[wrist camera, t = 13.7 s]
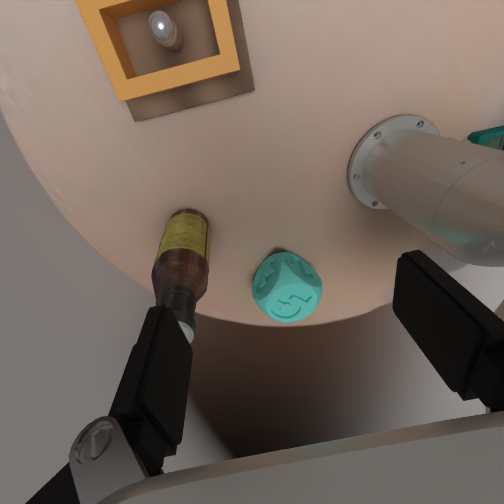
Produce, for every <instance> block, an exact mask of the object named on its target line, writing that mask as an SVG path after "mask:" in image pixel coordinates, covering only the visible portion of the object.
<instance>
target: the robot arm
mask: <svg viewBox="0 0 504 504" xmlns="http://www.w3.org/2000/svg"><path fill="white" fill-rule="evenodd" d="M375 133H376V134H375ZM374 134H375V136H374ZM354 175H355V176H354ZM348 182H349V187H350V189H351V191H352V193H353V195H354V196H355V197H356V199H357V200H359V201H360V202H361V203H362V204H364V205H365V206H367V207H370V208H372V209H379V210H383V209H390V210H391V211H392V212H394V213H395V214H396V215H398V216H399V217H401V218H402V219H403V220H405V221H406V222H407V223H409V224H410V225H411V226H413V227H414V228H415V229H417V230H418V231H419V232H421V233H422V234H423V235H425V236H426V237H427V238H429V239H430V240H431V241H433V242H434V243H436V244H437V245H438V246H440V247H441V248H442V249H444V250H445V251H446V252H448V253H449V254H450V255H452V256H454V257H455V258H457V259H459V260H461V261H463V262H466V263H470V264H473V265H478V266H489V267H503V266H504V150H499V149H495V148H491V147H486V146H482V145H478V144H474V143H471V142H470V140H463V141H461V140H456V139H452V138H448V137H444V136H440V134H439V131H438V129H437V128H436V127H435V125H434V124H433V123H432V122H430V121H429V120H428V119H426V118H423V117H420V116H417V115H398V116H394V117H391V118H389V119H386V120H384V121H382V122H381V123H379V124H378V125H376V126H375V127H373V128H372V129H371V130H370V131H369V132H368V133H367V134H366V135H365V136H364V137H363V138H362V140H361V141H360V142H359V143H358V145H357V147H356V149H355V150H354V152H353V155H352V157H351V160H350V163H349V168H348ZM393 311H394V313H395V315H396V316H397V318H398V319H399V320H400V322H401V323H402V324H403V326H404V327H405V328H406V330H407V331H408V333H409V334H410V335H411V337H412V338H413V339H414V341H415V342H416V343H417V345H418V346H419V348H420V349H421V350H422V352H423V353H424V354H425V356H426V357H427V359H428V360H429V361H430V363H431V364H432V365H433V367H434V368H435V369H436V371H437V372H438V373H439V375H440V376H441V377H442V379H443V380H444V382H445V383H446V385H447V386H448V387H449V388H450V389H451V390H452V391H453V392H457V393H458V394H459V396H460V397H461V398H462V400H463V401H466V400H471V399H476V398H479V399H480V400H481V402H482V403H483V404H484V405H485V406H486V413H485V414H481V415H475V416H469V417H462V418H456V419H450V420H444V421H439V422H433V423H428V424H422V425H417V426H412V427H406V428H400V429H394V430H389V431H383V432H378V433H372V434H367V435H361V436H356V437H350V438H345V439H339V440H334V441H329V442H324V443H318V444H312V445H307V446H302V447H296V448H291V449H286V450H280V451H275V452H270V453H265V454H260V455H254V456H249V457H243V458H239V459H233V460H228V461H222V462H218V463H212V464H207V465H203V466H198V467H193V468H188V469H183V470H179V471H174V472H169V473H164V471H163V470H162V468H161V467H162V466H163V461H164V457H167V456H172V455H176V449H177V445H178V444H180V443H181V441H182V435H183V427H184V419H185V412H186V404H187V396H188V388H189V380H190V373H191V365H192V357H193V352H192V348H191V345H190V344H189V342H188V340H187V338H186V336H185V334H184V332H183V330H182V328H181V326H180V324H179V323H178V321H177V319H176V317H175V315H174V313H173V311H172V309H171V308H170V307H166V306H165V305H159V306H154V307H150V308H149V310H148V312H147V315H146V318H145V321H144V324H143V327H142V330H141V332H140V335H139V338H138V341H137V343H136V344H135V345H134V346H133V348H132V351H131V354H130V356H129V359H128V362H127V365H126V367H125V370H124V373H123V376H122V379H121V381H120V384H119V387H118V389H117V392H116V395H115V398H114V401H113V403H112V406H111V409H110V412H109V414H108V416H103V417H100V418H97V419H95V420H94V421H92V422H91V423H89V424H88V425H87V426H86V427H85V428H84V429H83V430H82V431H81V432H80V433H79V435H78V436H77V438H76V439H75V441H74V443H73V445H72V447H71V450H70V453H69V462H68V464H66V465H65V466H64V467H63V468H62V469H61V470H60V471H59V472H58V473H57V474H56V475H55V476H54V477H53V478H52V479H51V480H50V481H49V482H47V483H46V484H45V485H44V486H43V487H42V488H41V489H40V490H39V491H38V492H37V493H36V494H35V495H34V496H33V497H32V498H31V499H30V500H29V501H28V502H27V503H25V504H504V300H503V301H502V303H501V304H500V305H499V307H498V308H497V309H496V311H495V312H494V313H493V312H492V311H491V310H490V309H489V308H488V307H486V306H485V305H484V304H483V303H482V302H480V301H479V300H478V299H477V298H476V297H475V296H474V295H472V294H471V293H470V292H469V291H468V290H467V289H465V288H464V287H463V286H462V285H461V284H459V283H458V282H457V281H456V280H455V279H454V278H452V277H451V276H450V275H449V274H448V273H447V272H445V271H444V270H443V269H442V268H441V267H440V266H438V265H437V264H436V263H435V262H434V261H433V260H431V259H430V258H429V257H428V256H427V255H425V254H424V253H423V252H422V251H420V250H415V251H410V252H406V253H403V254H402V255H401V257H400V258H398V260H397V269H396V278H395V287H394V296H393Z"/></svg>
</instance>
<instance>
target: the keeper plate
mask: <svg viewBox="0 0 504 504" xmlns="http://www.w3.org/2000/svg"><path fill="white" fill-rule="evenodd" d="M226 2H227V7H228V12H229V17H230V22H231V27H232V32H233V36H234V41H235V46H236V51H237V56H238V61H239V66H240V70H239V71H237V72H234V73H230V74H226V75H222V76H219V77H215V78H211V79H207V80H204V81H200V82H196V83H193V84H189V85H185V86H181V87H178V88H174V89H170V90H166V91H163V92H159V93H155V94H152V95H148V96H144V97H140V98H137V99H133V100H128V101H126V102H127V105H128V107H129V109H130V112H131V114H132V116H133V119H134V121H135V122H136V121H140V120H144V119H148V118H152V117H155V116H159V115H163V114H167V113H170V112H174V111H178V110H182V109H185V108H189V107H193V106H197V105H200V104H204V103H208V102H212V101H216V100H219V99H223V98H227V97H231V96H234V95H238V94H242V93H246V92H249V91H253V90H255V88H254V83H253V77H252V72H251V66H250V61H249V56H248V50H247V45H246V39H245V34H244V29H243V23H242V18H241V12H240V7H239V2H238V0H226ZM115 21H116V24H117V26H118V29H119V32H120V34H121V37H122V39H123V42H124V45H125V47H126V50H127V52H128V55H129V58H130V60H131V63H132V65H133V68H134V70H135V73H136V76H137V77H139V76H142V75H146V74H150V73H154V72H157V71H161V70H165V69H168V68H172V67H176V66H179V65H183V64H187V63H190V62H194V61H198V60H201V59H205V58H209V57H212V56H216V55H220V53H219V49H218V45H217V40H216V36H215V32H214V27H213V23H212V19H211V15H210V10H209V6H208V2H207V0H182V1H179V2H175V3H172V4H168V5H164V6H161V7H157V8H154V9H150V10H147V11H143V12H140V13H136V14H132V15H129V16H125V17H122V18H118V19H115Z"/></svg>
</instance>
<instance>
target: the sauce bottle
mask: <svg viewBox="0 0 504 504" xmlns="http://www.w3.org/2000/svg"><path fill="white" fill-rule="evenodd" d="M209 253H210V229H209V225H208V222H207V220H206V218H205V217H204V216H203V215H202V214H200V213H198V212H196V211H193V210H187V209H186V210H181V211H178V212H176V213H175V214H173V216H172V217H171V219H170V220H169V221H168V223H167V225H166V228H165V231H164V234H163V237H162V240H161V243H160V246H159V250H158V253H157V256H156V259H155V262H154V266H153V269H152V283H153V288H154V292H155V297H156V306H159V305H165V306H166V307H170V308H171V309H172V311H173V313H174V315H175V317H176V319H177V321H178V323H179V324H180V326H181V328H182V330H183V332H184V334H185V336H186V338H187V340H188V342H189V344H190V343H191V342H192V341H193V339H194V335H195V328H196V324H195V321H194V312H195V308H196V302H197V301H198V300H199V299H200V298H201V297H202V296H203V295H204V293H205V292H206V290H207V285H208V273H209Z"/></svg>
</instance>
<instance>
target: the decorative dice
mask: <svg viewBox="0 0 504 504" xmlns="http://www.w3.org/2000/svg"><path fill="white" fill-rule="evenodd" d="M252 294H253V298H254V300H255V302H256V304H257V305H258V307H259V308H260V309H261V310H262V311H263V312H264V313H265V314H266V315H268V316H269V317H271V318H272V319H274V320H277V321H280V322H295V321H298V320H301V319H303V318H305V317H307V316H308V315H309V314H311V313H312V312H313V310H314V309H315V308H316V306H317V305H318V303H319V300H320V298H321V294H322V282H321V279H320V277H319V276H318V274H317V273H316V272H315V270H314V269H313V268H312V267H311V266H310V265H309V264H308V263H307V262H305V261H304V260H303V259H301V258H300V257H298V256H297V255H295V254H293V253H290V252H280V253H276V254H273V255H271V256H269V257H268V258H267V259H266V260H265V261H264V262H263V263H262V264H261V266H260V267H259V269H258V271H257V273H256V275H255V278H254V281H253V285H252Z"/></svg>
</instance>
